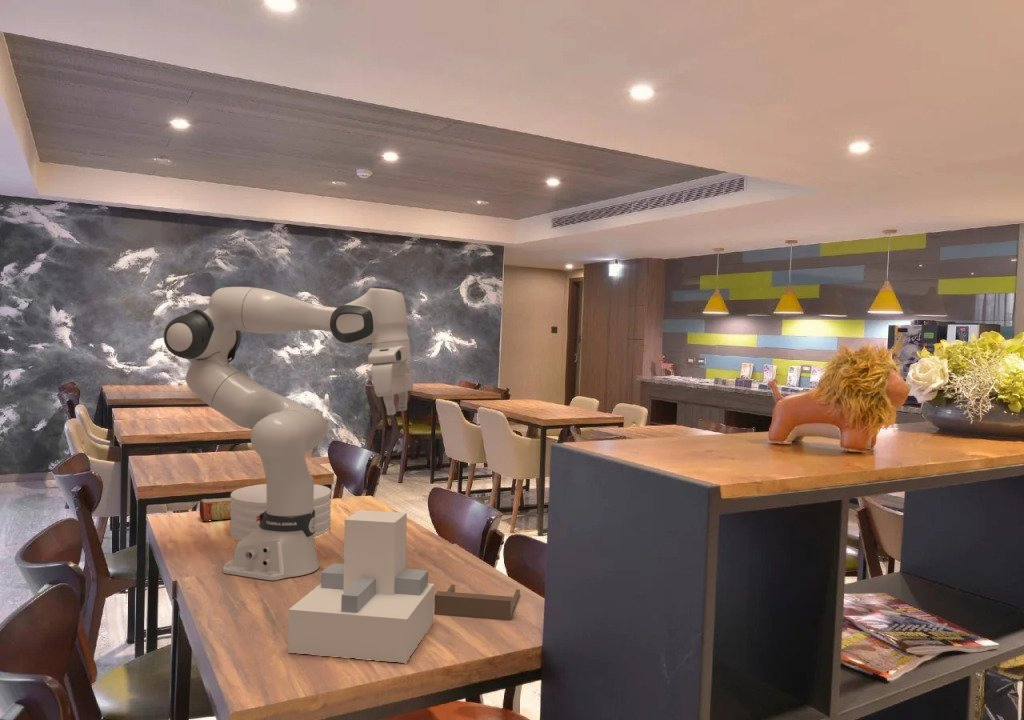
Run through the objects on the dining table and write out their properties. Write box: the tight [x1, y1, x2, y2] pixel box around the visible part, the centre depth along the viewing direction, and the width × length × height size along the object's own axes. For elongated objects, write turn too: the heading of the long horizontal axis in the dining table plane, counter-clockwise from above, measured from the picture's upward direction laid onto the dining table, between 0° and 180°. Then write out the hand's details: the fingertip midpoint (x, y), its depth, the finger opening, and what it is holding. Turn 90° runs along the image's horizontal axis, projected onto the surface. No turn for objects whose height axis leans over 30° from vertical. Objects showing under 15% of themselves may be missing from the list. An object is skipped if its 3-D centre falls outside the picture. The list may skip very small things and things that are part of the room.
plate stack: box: [229, 483, 332, 541], centre depth 214 cm, size 28×28×12 cm
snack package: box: [199, 497, 232, 522], centre depth 228 cm, size 21×7×7 cm, turn 122°
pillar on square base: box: [287, 509, 435, 663], centre depth 139 cm, size 22×19×22 cm
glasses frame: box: [433, 584, 521, 621], centre depth 159 cm, size 16×15×4 cm
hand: (397, 412), depth 173 cm, fingers open, 8 cm apart
